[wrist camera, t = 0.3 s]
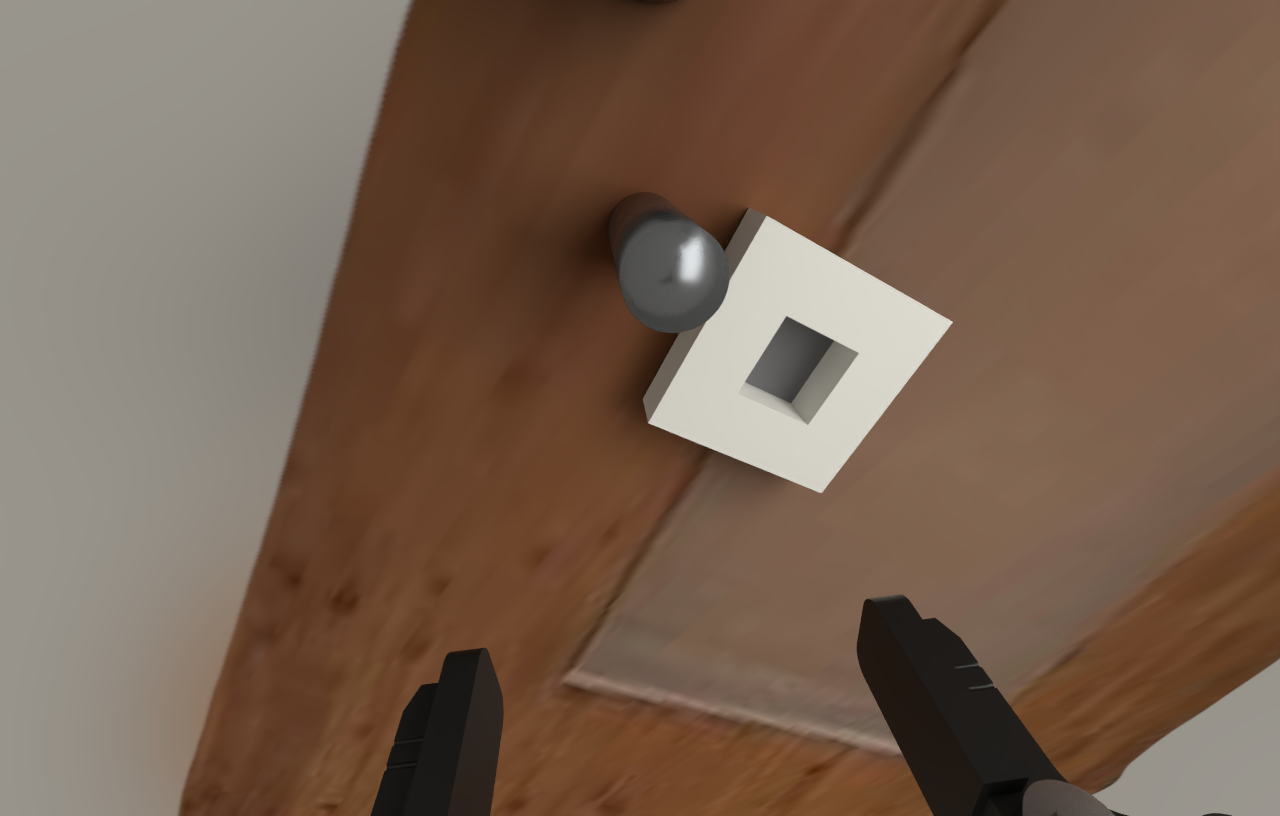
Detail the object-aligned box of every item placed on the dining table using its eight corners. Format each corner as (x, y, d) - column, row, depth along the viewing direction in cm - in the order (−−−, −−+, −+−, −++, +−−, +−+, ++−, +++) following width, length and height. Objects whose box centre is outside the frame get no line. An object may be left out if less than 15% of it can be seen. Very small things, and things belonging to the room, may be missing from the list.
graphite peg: (628, 178, 31) (652, 202, 20) (693, 214, 32) (750, 254, 21) (595, 249, 32) (602, 305, 22) (659, 280, 33) (695, 349, 23)
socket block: (748, 207, 32) (766, 215, 29) (920, 305, 36) (952, 322, 33) (642, 398, 37) (648, 423, 34) (803, 465, 41) (821, 493, 38)
